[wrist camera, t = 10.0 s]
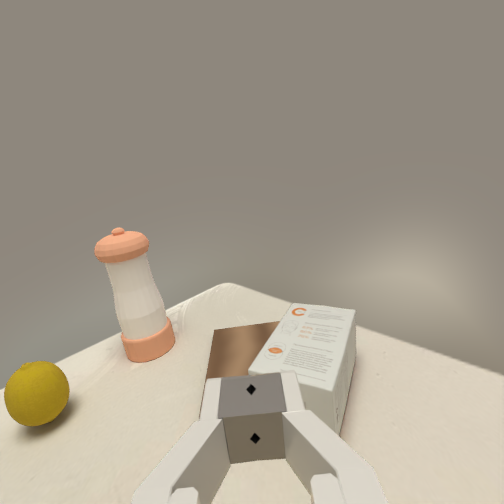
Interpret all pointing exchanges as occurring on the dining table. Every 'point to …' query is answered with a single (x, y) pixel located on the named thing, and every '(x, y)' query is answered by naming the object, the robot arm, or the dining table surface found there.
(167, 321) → the pepper shaker
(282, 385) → the robot arm
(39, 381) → the lemon
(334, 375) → the small box
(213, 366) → the walnut board
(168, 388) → the dining table surface
